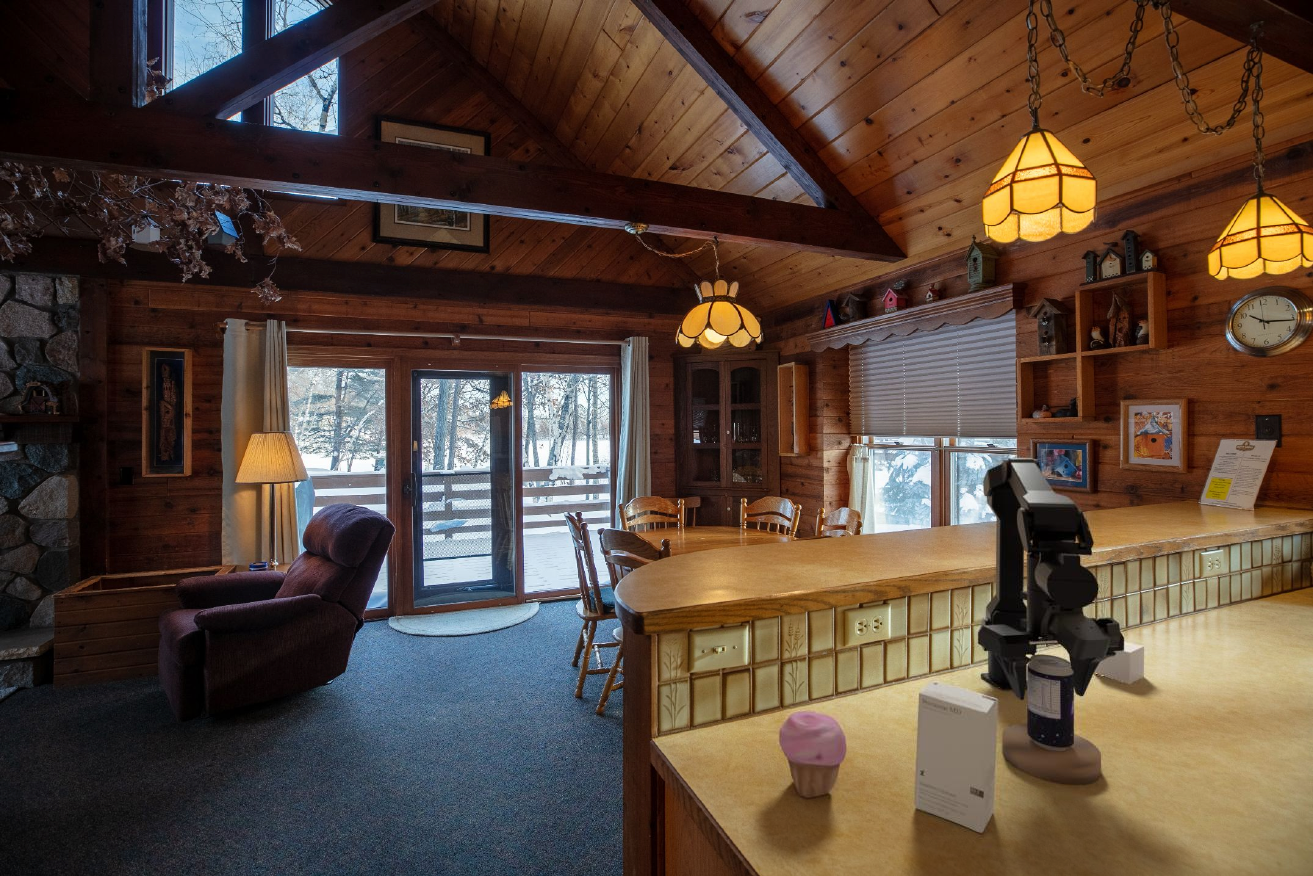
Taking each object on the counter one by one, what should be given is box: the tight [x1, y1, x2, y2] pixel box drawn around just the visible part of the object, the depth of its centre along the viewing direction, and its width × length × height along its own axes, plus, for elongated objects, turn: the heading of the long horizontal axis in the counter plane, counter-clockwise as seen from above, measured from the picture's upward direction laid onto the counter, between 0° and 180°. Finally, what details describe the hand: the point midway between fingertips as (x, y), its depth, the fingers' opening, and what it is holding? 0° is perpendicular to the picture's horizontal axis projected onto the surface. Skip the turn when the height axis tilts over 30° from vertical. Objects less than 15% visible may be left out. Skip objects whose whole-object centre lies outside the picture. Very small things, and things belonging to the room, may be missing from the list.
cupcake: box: [778, 710, 847, 799], centre depth 84 cm, size 9×9×10 cm
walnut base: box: [1001, 723, 1102, 786], centre depth 90 cm, size 12×12×2 cm
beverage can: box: [1026, 653, 1075, 751], centre depth 90 cm, size 6×6×12 cm
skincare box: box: [913, 680, 999, 834], centre depth 79 cm, size 8×6×15 cm
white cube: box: [1094, 641, 1145, 685], centre depth 120 cm, size 6×6×6 cm
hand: (1049, 697), depth 90 cm, fingers open, 9 cm apart
